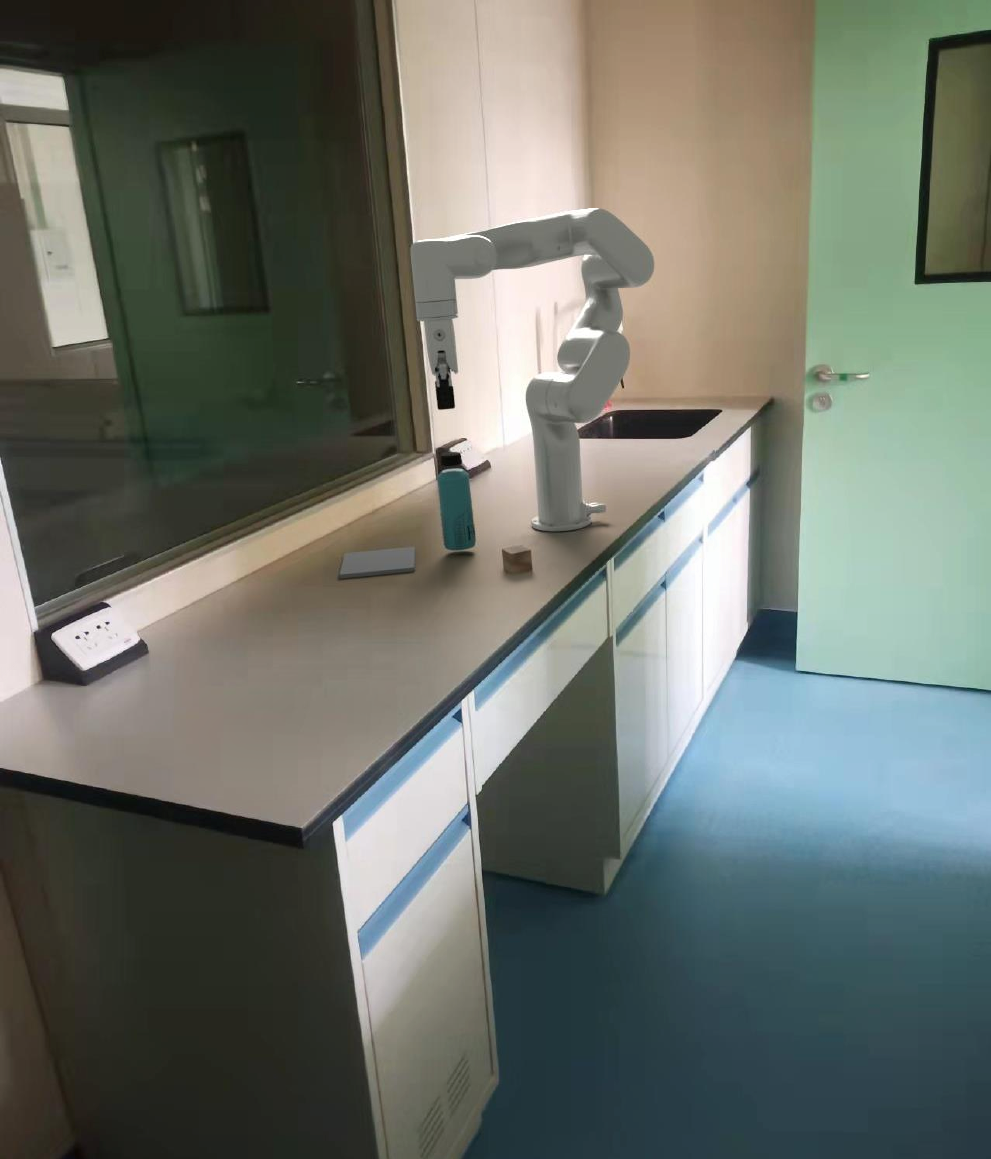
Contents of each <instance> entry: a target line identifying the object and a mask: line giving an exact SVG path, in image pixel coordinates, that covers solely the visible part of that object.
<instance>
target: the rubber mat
mask: <svg viewBox="0 0 991 1159" xmlns="http://www.w3.org/2000/svg"><path fill="white" fill-rule="evenodd" d="M415 564H416V549H415V546H406V547H397V548H396V547H395V548H387V549H378V550H377V549H375V550H366V551H353V552H345V553H344V555H343V558H342V562H341V568H340V571H339V579H348V578H349V579H351V578H360V577H371V576H381V575H391V574H401V573H402V574H403V573H413V572H415V571H416V570H415V569H416V565H415Z"/></svg>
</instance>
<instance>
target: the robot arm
mask: <svg viewBox="0 0 991 1159" xmlns="http://www.w3.org/2000/svg"><path fill="white" fill-rule="evenodd" d="M409 250H410V261H411V271H412V272H411V273H412V282H413V290H414V292H413V294H414V301H415V311H416V320H417V322H423V325H424V335H425V343H426V351H427V352H426V353H427V357H428V363H429V367H430V371H431V374H432V375H433V376H434V377H435V381H434V386H435V387H434V388H435V395H436V397H435V398H436V404H437V405H436V406H437V410H439V411H443V410H452V409H453V410H454V409H455V407H456V404H455V392H454V385H453V383H452V382H453V381H452V373H453V372H454V375H457V374H458V373H459V367H458V366H459V365H458V355H457V354H458V353H457V345H456V344H457V342H456V336H455V334H456V333H455V325H454V321H453V320H455V319H458V318H459V313H458V302H457V288H456V280H472V279H473V280H474V279H481V278H483V277H486V276H487V275H489V274H490V273H491V272H493V271H497V270H498V271H499V270H517V269H526V268H532V267H536V266H540V265H544V264H547V263H552V262H556V261H562V260H565V259H569V258H575V257H579V256H583V259H582V262H581V268H580V269H581V270H580V271H581V276H582V282H583V285H584V290H585V298H584V300H585V301H584V305H583V306H582V309H581V312H580V313H579V315H578V317H577V318H576V320H575V321H574V323H573V324H572V326H571V328H570V330H569V331H568V333H566V336H565V338H564V339H563V341H562V343H561V345H560V346H559V348H558V352H557V354H556V360H557V364H558V366H559V368H560V369H561V370H562V371H563V372H560V371H559V372H558V371H547V372H543V373H540V374H538V375H536V376H534V377H533V378H532V379H531V380H530V381H529V383H528V385H527V387H526V391H525V404H526V410H527V413H528V418H529V421H530V426H531V431H532V442H533V454H534V455H533V456H534V457H533V458H534V469H535V471H534V472H535V485H536V500H537V515H536V516H534V517H533V518H532V519H531V520H530V521H531V527H532V528H533V529H536V530H538V531H544V532H568V531H575V530H579V529H583V528H586V527H587V526H589V525H590V524H591V523H592V517H591V516H592V514H605V513H607V508H606V503H598V502H591V503H587V502H585V500H584V496H583V483H582V481H583V480H582V479H583V478H582V465H581V464H582V461H581V459H582V458H581V443H580V442H581V441H580V436H579V432H578V429H577V425H576V424H587V423H590V422H592V421H594V420H595V419H596V418H597V417H598V416H599V415H600V414H601V413H602V411H603V410H604V408H605V407H606V405H607V404H608V403H609V401H610V399H611V398H612V395H613V394H614V393H615V391H616V389H617V387H618V386H619V385H620V383H621V381H622V379H623V378H624V375H625V374H626V372H627V371H628V367H629V364H630V360H631V348H630V343H629V341H628V339H627V338H626V336H624V335H623V334H622V333H621V332H619V329H620V326H621V325H622V321H623V318H624V310H623V305H622V301H621V296H620V292H619V289H627V288H628V289H633V288H639V287H641V286H644V285H645V284H647V283H648V282H649V281H650V279H651V278H652V276H653V273H654V272H655V271H654V270H655V260H654V255H653V253H652V251H651V249H650V248H649V246H648V245H647V244H646V243H645V241H643V239H642V238H640V237H639V236H638V235H637V234H636V233H634V232H633V230H631V229H630V228H629V227H628V225H626V224H625V223H624V222H623V221H622V220H621V219H620V218H618V217H617V216H616V215H614V214H613V213H612V212H610V211H609V210H606V209H603V208H601V207H595V208H594V207H593V208H587V209H579V210H571V211H569V210H568V211H564V212H560V213H554V214H550V215H546V216H541V217H536V218H531V219H525V220H520V221H516V222H515V221H514V222H511V223H507V224H504V225H501V226H496V227H493V228H488V229H484V230H478V231H474V232H468V233H464V234H458V235H454V236H450V237H449V236H448V237H445V238H435V239H423V240H417V241H415V242H413V243H412V244H411V246H410V249H409Z"/></svg>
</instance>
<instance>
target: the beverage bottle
mask: <svg viewBox="0 0 991 1159" xmlns="http://www.w3.org/2000/svg"><path fill="white" fill-rule="evenodd" d="M462 464H463V459H462V454H461V452H459V451H449V452H444V453H442V454H440V465H441V466H443V467H453V466H459V465H462ZM436 481H437V489H438V498H439V499H438V500H439V511H440V514H439V515H440V521H441V523H440V526H441V528H442V529H441V532H442V536H441V538H442V542H443V545H444V549H446V550H448V551H465V550H469V549H472V548H474V547H475V546H476V541H477V539H476V537H477V536H476V526H475V525H476V524H475V521H474V510H473V500H472V492H471V486H470V485H471V484H470V475H469V473H468V472H467V471H466V470H465V469H463V468H457V467H456V468H447V469H444V470H442V471H441V472H440V473H439V474H438V475H437V477H436Z"/></svg>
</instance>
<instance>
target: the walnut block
mask: <svg viewBox="0 0 991 1159" xmlns="http://www.w3.org/2000/svg"><path fill="white" fill-rule="evenodd" d="M501 555H502V556H501V557H502V568H503V570H504V571H506V572H508V573H509V574H511V575H517V574H521V573H526V572H531V571H533V560H532V549H531V548H528V547H526V546H524V545H523V544H518V545H512V546H509V547H505V548H501Z"/></svg>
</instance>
